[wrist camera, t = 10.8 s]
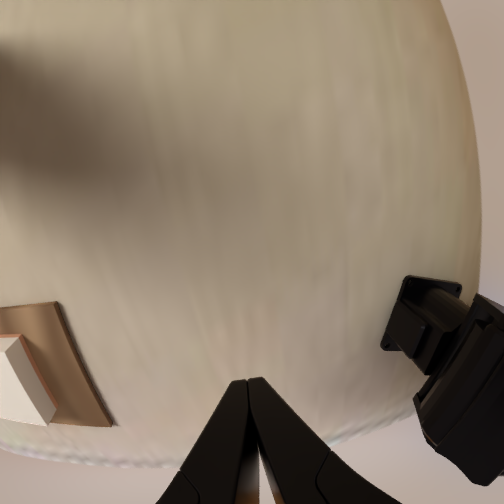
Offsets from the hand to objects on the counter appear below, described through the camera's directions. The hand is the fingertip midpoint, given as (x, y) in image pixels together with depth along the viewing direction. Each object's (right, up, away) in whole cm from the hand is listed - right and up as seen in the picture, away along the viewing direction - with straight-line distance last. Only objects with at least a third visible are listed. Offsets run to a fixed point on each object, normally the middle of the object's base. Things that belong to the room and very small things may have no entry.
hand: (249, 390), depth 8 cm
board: (-21, -7, +14) cm, 27 cm away
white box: (-18, -7, +12) cm, 23 cm away
